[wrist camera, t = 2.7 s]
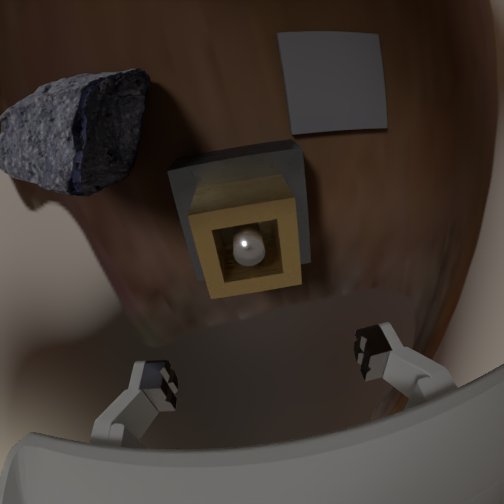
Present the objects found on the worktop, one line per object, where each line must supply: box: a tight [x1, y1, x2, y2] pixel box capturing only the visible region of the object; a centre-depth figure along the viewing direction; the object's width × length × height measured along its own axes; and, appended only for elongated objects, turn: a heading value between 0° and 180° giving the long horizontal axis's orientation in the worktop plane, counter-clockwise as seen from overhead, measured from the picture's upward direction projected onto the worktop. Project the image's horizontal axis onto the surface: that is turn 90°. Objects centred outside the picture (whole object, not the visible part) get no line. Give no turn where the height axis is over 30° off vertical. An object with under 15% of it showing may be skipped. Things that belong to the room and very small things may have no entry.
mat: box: [276, 31, 387, 135], centre depth 21 cm, size 9×9×1 cm
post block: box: [167, 139, 311, 281], centre depth 23 cm, size 10×10×9 cm
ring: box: [188, 175, 302, 299], centre depth 21 cm, size 6×6×5 cm
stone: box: [0, 68, 150, 196], centre depth 17 cm, size 12×10×10 cm
